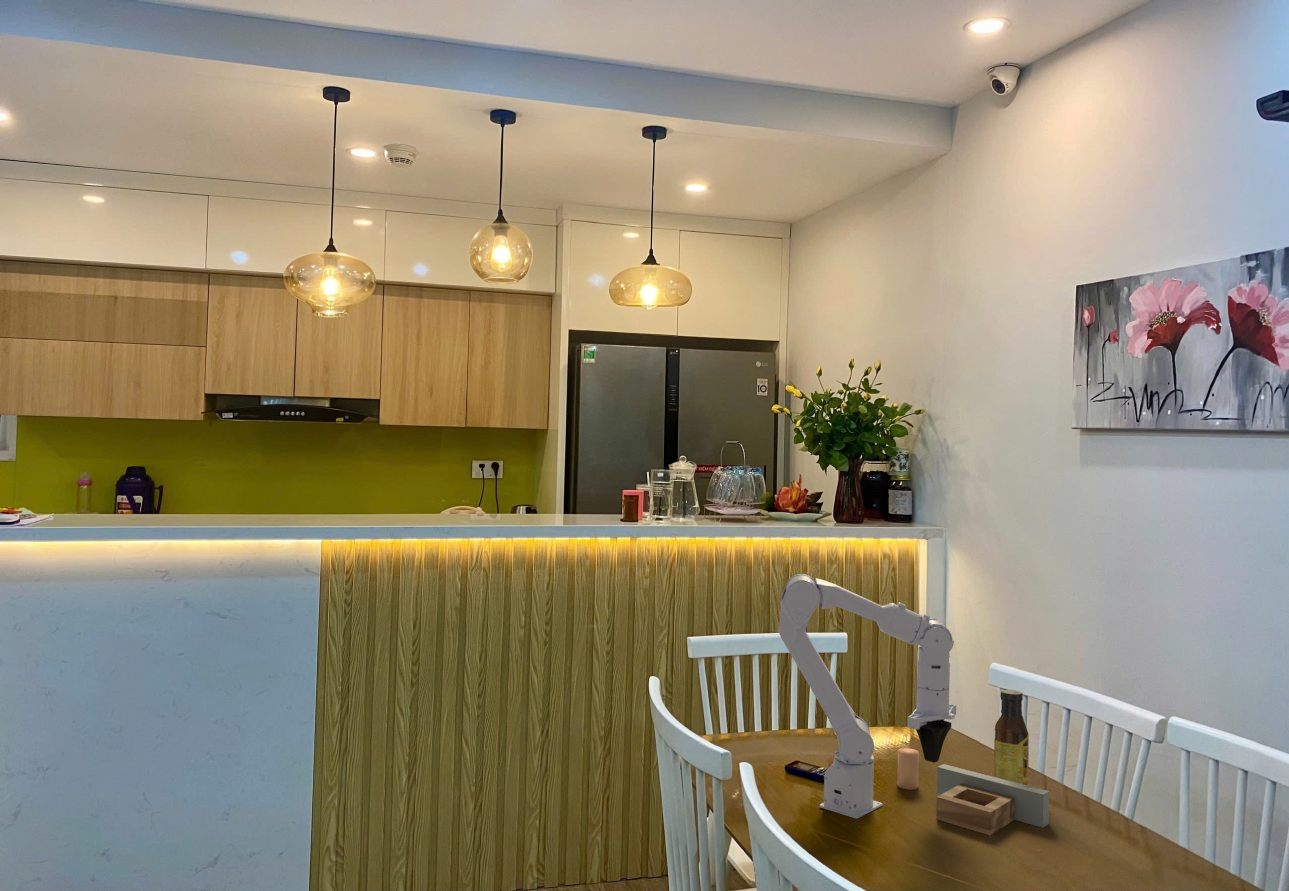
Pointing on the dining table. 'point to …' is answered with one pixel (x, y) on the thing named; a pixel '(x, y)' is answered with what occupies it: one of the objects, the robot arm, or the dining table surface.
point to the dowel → (908, 768)
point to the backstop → (1000, 792)
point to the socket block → (975, 809)
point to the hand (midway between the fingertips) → (931, 760)
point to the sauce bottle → (1011, 740)
